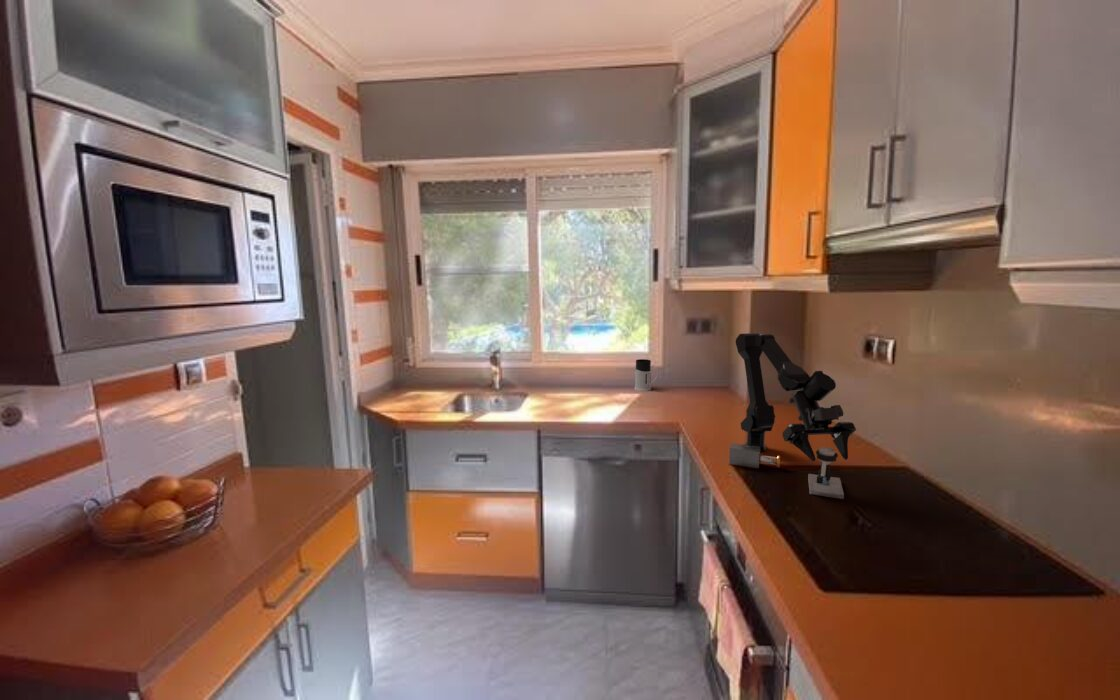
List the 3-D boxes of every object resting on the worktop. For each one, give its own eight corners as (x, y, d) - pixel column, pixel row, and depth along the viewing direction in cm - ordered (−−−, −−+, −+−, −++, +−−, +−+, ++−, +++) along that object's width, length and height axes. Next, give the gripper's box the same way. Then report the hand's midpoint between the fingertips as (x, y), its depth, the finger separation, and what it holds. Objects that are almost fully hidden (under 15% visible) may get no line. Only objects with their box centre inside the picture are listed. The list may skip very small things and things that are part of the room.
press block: (730, 458, 161) (731, 443, 160) (759, 462, 158) (760, 446, 157) (729, 464, 157) (729, 448, 156) (758, 468, 153) (759, 451, 153)
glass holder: (642, 386, 267) (642, 358, 265) (663, 390, 256) (663, 361, 254) (630, 388, 262) (631, 360, 260) (652, 393, 251) (652, 363, 249)
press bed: (808, 477, 146) (808, 467, 146) (839, 482, 143) (840, 471, 142) (809, 494, 135) (810, 483, 134) (843, 499, 131) (844, 488, 131)
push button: (819, 477, 143) (822, 443, 141) (839, 483, 139) (842, 448, 137) (810, 484, 138) (813, 449, 137) (830, 490, 134) (834, 454, 133)
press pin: (749, 460, 158) (749, 450, 158) (779, 464, 155) (780, 454, 154) (748, 464, 155) (748, 453, 155) (779, 468, 152) (780, 457, 151)
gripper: (790, 395, 138) (811, 448, 128) (854, 393, 140) (879, 445, 130) (773, 415, 147) (792, 466, 137) (834, 413, 148) (856, 463, 139)
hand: (830, 459), depth 136 cm, fingers open, 9 cm apart
